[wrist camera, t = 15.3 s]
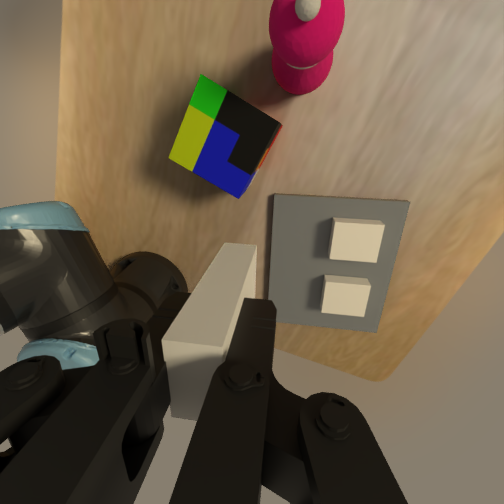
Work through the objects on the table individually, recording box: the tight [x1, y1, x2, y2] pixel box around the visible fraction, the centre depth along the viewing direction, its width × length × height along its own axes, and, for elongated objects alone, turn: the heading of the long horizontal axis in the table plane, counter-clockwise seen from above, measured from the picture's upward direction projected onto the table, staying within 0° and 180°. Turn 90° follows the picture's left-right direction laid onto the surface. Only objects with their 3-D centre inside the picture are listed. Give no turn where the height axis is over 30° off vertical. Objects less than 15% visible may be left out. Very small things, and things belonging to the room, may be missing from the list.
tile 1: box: [328, 217, 385, 263], centre depth 42 cm, size 6×3×7 cm
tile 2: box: [320, 275, 371, 317], centre depth 46 cm, size 6×3×7 cm
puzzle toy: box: [169, 74, 282, 199], centre depth 37 cm, size 10×10×10 cm
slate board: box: [268, 193, 410, 333], centre depth 46 cm, size 24×20×1 cm
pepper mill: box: [269, 0, 345, 95], centre depth 27 cm, size 7×7×20 cm
